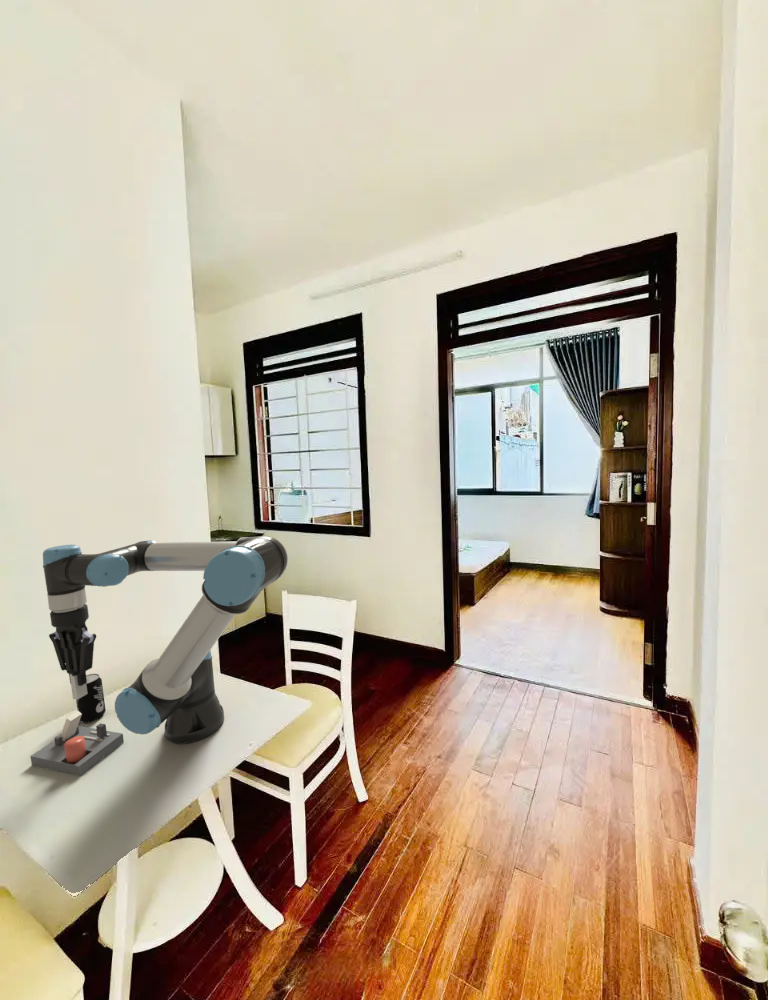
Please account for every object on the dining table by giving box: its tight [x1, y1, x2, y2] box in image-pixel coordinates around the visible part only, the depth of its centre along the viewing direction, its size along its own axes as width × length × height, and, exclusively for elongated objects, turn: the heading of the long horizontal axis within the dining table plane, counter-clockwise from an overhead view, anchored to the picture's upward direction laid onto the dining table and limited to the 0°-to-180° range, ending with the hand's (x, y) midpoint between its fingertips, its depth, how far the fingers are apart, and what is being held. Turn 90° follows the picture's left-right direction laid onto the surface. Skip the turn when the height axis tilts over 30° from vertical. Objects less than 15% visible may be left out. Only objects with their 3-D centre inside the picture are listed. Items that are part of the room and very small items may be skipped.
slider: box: [95, 723, 108, 738], centre depth 109 cm, size 2×1×3 cm, turn 74°
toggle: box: [59, 710, 82, 742], centre depth 109 cm, size 1×3×8 cm, turn 165°
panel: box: [29, 725, 125, 777], centre depth 107 cm, size 16×12×4 cm
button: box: [64, 736, 87, 764], centre depth 103 cm, size 4×4×5 cm
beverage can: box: [75, 673, 106, 724], centre depth 123 cm, size 7×7×12 cm
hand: (80, 696), depth 106 cm, fingers closed
